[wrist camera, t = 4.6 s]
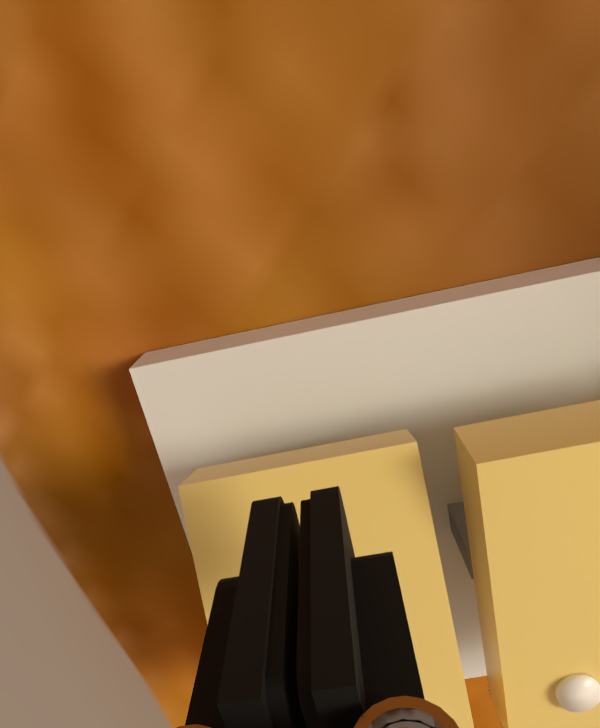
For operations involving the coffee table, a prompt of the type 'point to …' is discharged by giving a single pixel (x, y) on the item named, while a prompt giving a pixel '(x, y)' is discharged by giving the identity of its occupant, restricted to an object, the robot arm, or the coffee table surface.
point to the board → (385, 390)
